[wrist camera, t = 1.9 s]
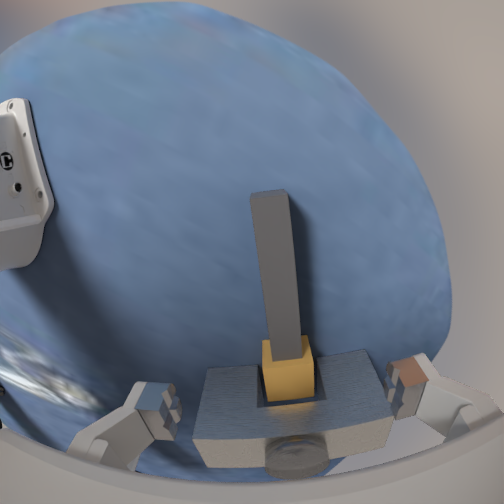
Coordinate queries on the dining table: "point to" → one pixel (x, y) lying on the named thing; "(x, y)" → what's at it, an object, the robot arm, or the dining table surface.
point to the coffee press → (1, 395)
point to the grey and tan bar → (280, 301)
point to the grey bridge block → (292, 419)
